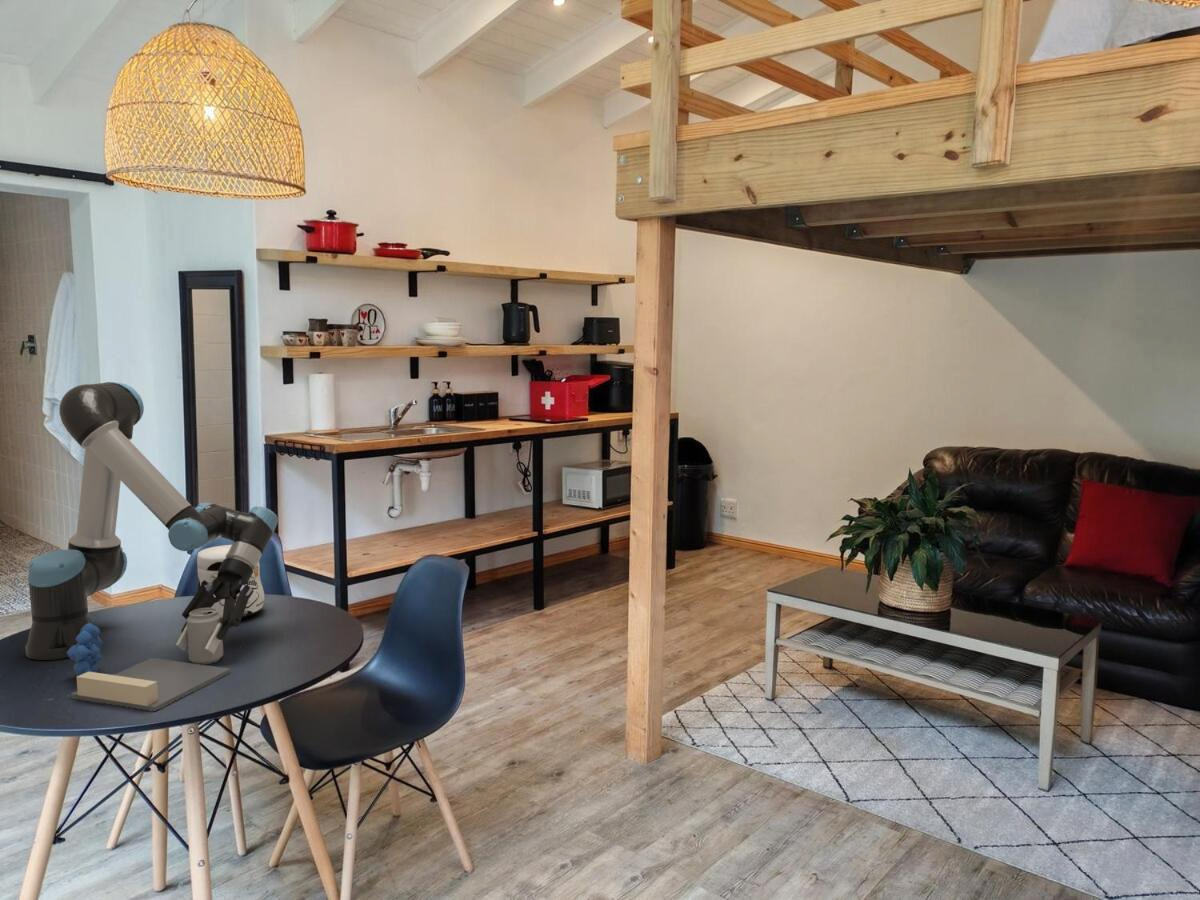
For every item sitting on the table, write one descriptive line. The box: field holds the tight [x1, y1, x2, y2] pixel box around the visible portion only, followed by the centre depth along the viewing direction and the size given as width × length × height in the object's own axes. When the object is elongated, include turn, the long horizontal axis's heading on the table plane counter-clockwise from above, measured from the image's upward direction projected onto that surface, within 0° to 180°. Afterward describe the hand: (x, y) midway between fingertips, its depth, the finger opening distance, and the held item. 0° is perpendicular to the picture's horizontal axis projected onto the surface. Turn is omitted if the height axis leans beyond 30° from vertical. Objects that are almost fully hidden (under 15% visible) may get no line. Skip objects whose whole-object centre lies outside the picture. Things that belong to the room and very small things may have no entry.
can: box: [186, 608, 224, 665], centre depth 207 cm, size 8×8×12 cm
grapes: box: [67, 623, 104, 676], centre depth 196 cm, size 12×7×12 cm, turn 12°
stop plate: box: [70, 657, 231, 712], centre depth 192 cm, size 22×22×5 cm
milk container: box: [196, 544, 265, 619], centre depth 240 cm, size 17×17×18 cm
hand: (194, 649), depth 204 cm, fingers closed on can, 7 cm apart
